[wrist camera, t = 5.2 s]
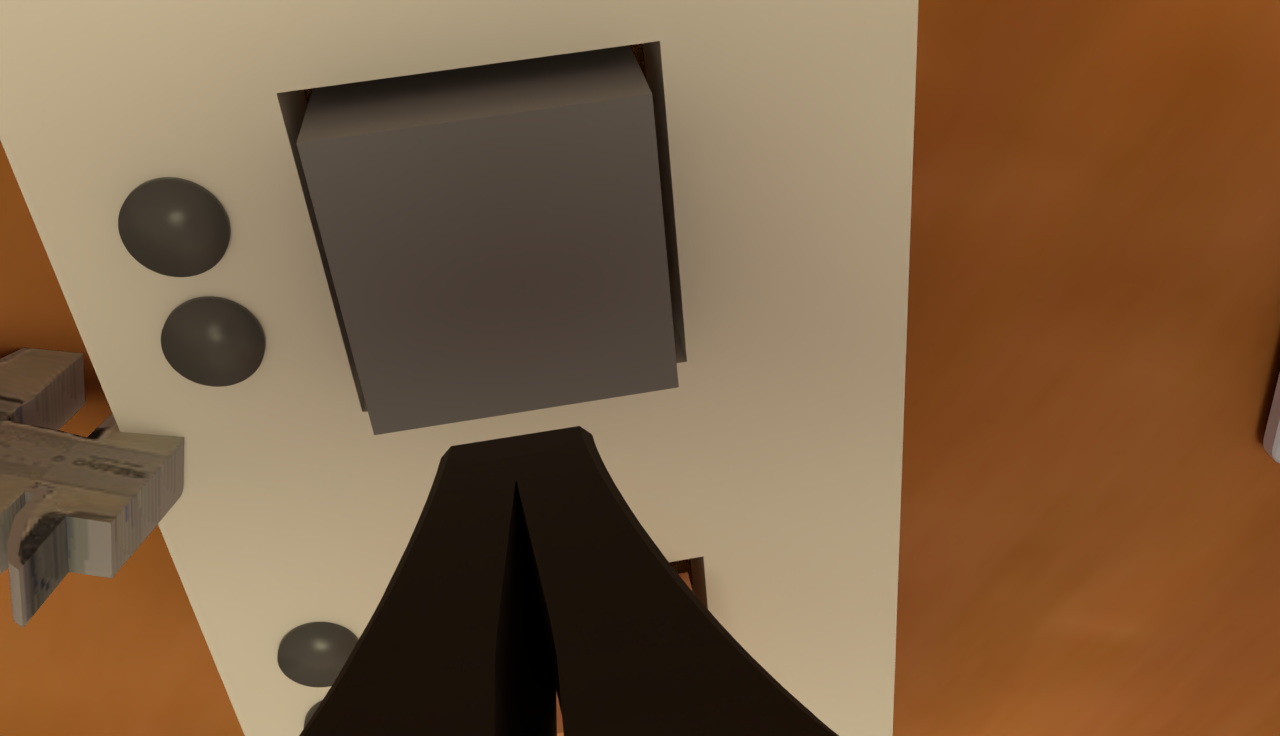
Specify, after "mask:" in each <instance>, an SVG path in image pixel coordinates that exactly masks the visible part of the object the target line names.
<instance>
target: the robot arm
mask: <svg viewBox="0 0 1280 736" xmlns="http://www.w3.org/2000/svg"><path fill="white" fill-rule="evenodd" d="M1263 448H1264V449H1265V451H1266V452H1267V453H1268V454H1269V455H1270V456H1271V457H1272V458H1273V459H1274V460H1275V461H1276V462H1278V463H1280V373H1279V377H1278V381H1277V385H1276V389H1275V394H1274V398H1273V402H1272V406H1271V410H1270V414H1269V418H1268V423H1267V427H1266V431H1265V435H1264V439H1263ZM556 691H557V696H558V700H559V705H560V710H561V714H562V721H563V732H564V736H839V735H838V734H836V733H835V732H834V731H832V730H831V729H830V728H829V727H828V726H826V725H825V724H824V723H823V722H822V721H821V720H820V719H818V718H817V717H816V716H815V715H814V714H813V713H812V712H811V711H809V710H808V709H807V708H806V707H805V706H804V705H803V704H802V703H801V702H799V701H798V700H797V699H796V698H795V697H794V696H793V695H792V694H790V693H789V692H788V691H787V690H786V689H785V688H784V687H783V686H782V685H781V684H780V683H779V682H778V681H776V680H775V679H774V678H773V677H772V676H771V675H770V674H769V673H768V672H767V671H766V670H765V669H764V668H763V667H762V666H761V665H760V664H759V663H758V662H757V661H756V660H755V659H754V658H753V657H752V656H751V655H750V654H749V653H748V652H747V651H746V650H745V649H744V648H743V647H742V646H741V645H740V644H739V643H738V642H737V641H736V640H735V639H734V638H733V637H732V636H731V634H730V633H729V632H728V631H727V630H726V629H725V628H724V627H723V626H722V625H721V624H720V623H719V621H718V620H717V619H716V618H715V617H714V616H713V615H712V613H711V612H710V611H709V610H708V609H707V608H706V607H705V605H704V604H703V603H702V602H701V601H700V600H699V598H698V597H697V596H696V595H695V594H694V593H693V592H692V590H691V589H690V588H689V587H688V586H687V584H686V583H685V582H684V581H683V579H682V578H681V577H680V576H679V574H678V573H677V572H676V571H675V569H674V568H673V567H672V566H671V564H670V563H669V562H668V560H667V559H666V558H665V556H664V555H663V554H662V552H661V551H660V550H659V548H658V547H657V546H656V544H655V543H654V541H653V540H652V539H651V537H650V536H649V535H648V533H647V532H646V531H645V529H644V528H643V527H642V525H641V524H640V522H639V521H638V519H637V518H636V516H635V515H634V513H633V512H632V510H631V509H630V507H629V506H628V504H627V503H626V501H625V499H624V498H623V496H622V494H621V493H620V491H619V490H618V488H617V486H616V485H615V483H614V481H613V479H612V478H611V476H610V474H609V472H608V471H607V469H606V467H605V465H604V463H603V461H602V459H601V456H600V454H599V452H598V450H597V447H596V445H595V442H594V439H593V435H592V434H591V433H589V432H588V431H586V430H585V429H583V428H582V427H580V426H576V427H569V428H563V429H556V430H550V431H544V432H537V433H531V434H525V435H518V436H512V437H506V438H499V439H493V440H487V441H480V442H474V443H467V444H461V445H455V446H451V447H450V448H449V449H448V450H447V451H446V453H445V454H444V455H443V456H442V457H441V460H440V463H439V466H438V470H437V473H436V476H435V479H434V481H433V484H432V487H431V490H430V493H429V495H428V498H427V500H426V503H425V505H424V508H423V510H422V513H421V515H420V517H419V520H418V522H417V524H416V527H415V529H414V531H413V534H412V536H411V538H410V541H409V543H408V545H407V547H406V549H405V551H404V553H403V555H402V557H401V559H400V562H399V564H398V566H397V568H396V570H395V572H394V574H393V576H392V578H391V580H390V582H389V584H388V586H387V588H386V590H385V592H384V594H383V596H382V598H381V600H380V602H379V604H378V606H377V608H376V610H375V612H374V614H373V615H372V617H371V619H370V621H369V622H368V624H367V626H366V628H365V629H364V631H363V633H362V635H361V636H360V638H359V640H358V642H357V643H356V645H355V647H354V649H353V650H352V652H351V654H350V656H349V657H348V659H347V661H346V663H345V664H344V666H343V668H342V670H341V671H340V673H339V675H338V677H337V678H336V680H335V681H334V683H333V685H332V686H331V688H330V689H329V691H328V693H327V694H326V696H325V697H324V699H323V700H322V702H321V704H320V705H319V707H318V708H317V710H316V711H315V713H314V714H313V716H312V717H311V719H310V720H309V722H308V723H307V725H306V726H305V728H304V729H303V731H302V732H301V734H300V735H299V736H557V704H556Z"/></svg>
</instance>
